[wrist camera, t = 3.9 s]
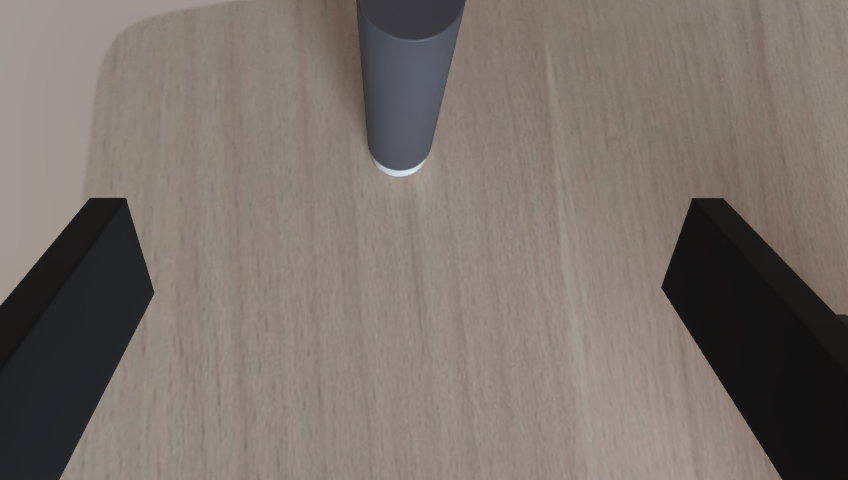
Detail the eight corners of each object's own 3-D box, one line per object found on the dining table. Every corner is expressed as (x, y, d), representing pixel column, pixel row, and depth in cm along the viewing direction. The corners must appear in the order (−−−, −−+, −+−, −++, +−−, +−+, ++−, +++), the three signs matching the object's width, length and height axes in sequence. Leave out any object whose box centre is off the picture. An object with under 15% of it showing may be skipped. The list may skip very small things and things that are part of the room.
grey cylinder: (357, 161, 26) (335, 9, 14) (386, 110, 26) (387, -78, 15) (412, 189, 26) (435, 60, 14) (439, 137, 26) (484, -29, 15)
